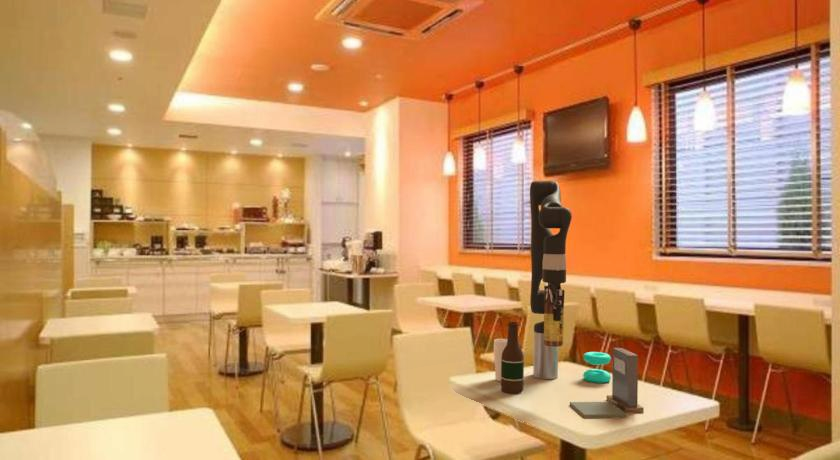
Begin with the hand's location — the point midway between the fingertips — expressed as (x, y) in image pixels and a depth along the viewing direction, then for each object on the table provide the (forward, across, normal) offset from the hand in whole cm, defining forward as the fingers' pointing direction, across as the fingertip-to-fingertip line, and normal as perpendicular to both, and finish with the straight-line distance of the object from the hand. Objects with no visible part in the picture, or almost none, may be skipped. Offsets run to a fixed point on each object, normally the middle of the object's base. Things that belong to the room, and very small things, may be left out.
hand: (553, 319), depth 192 cm
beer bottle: (+27, -14, -10) cm, 32 cm away
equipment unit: (+27, +5, +22) cm, 35 cm away
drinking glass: (+28, -29, -10) cm, 41 cm away
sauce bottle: (+9, 0, 0) cm, 9 cm away
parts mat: (+27, +10, +11) cm, 31 cm away
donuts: (+28, -28, +26) cm, 47 cm away
